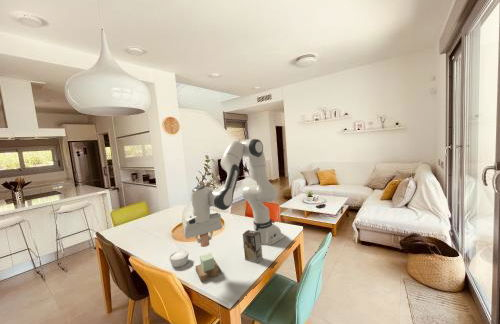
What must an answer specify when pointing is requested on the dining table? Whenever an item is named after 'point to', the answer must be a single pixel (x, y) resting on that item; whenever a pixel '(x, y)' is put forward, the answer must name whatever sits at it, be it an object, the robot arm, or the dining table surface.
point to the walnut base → (208, 272)
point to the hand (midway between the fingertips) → (204, 241)
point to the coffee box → (252, 246)
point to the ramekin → (179, 258)
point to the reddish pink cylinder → (204, 240)
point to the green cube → (207, 262)
